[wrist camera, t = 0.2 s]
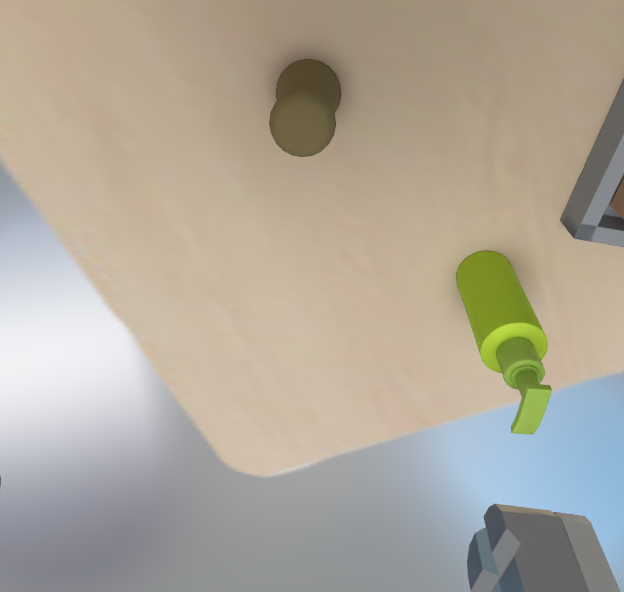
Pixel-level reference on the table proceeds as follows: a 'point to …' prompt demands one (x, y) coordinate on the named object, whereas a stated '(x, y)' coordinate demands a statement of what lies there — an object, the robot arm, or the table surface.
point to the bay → (600, 184)
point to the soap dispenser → (506, 332)
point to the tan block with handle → (619, 200)
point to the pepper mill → (305, 108)
